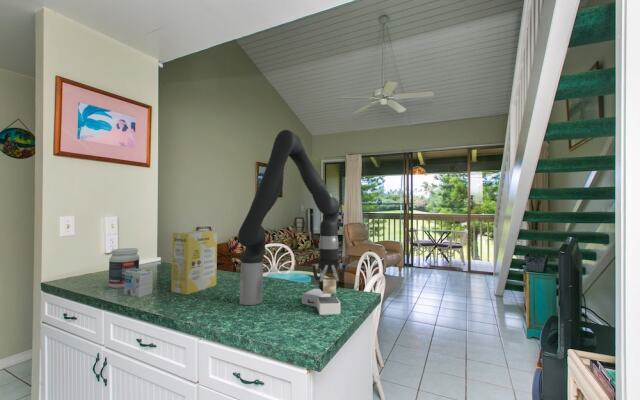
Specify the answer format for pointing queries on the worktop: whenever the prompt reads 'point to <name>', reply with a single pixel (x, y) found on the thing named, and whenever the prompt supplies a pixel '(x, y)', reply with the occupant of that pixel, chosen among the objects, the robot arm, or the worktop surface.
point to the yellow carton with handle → (193, 261)
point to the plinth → (328, 305)
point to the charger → (313, 297)
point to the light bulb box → (138, 282)
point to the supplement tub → (122, 265)
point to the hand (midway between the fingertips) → (328, 290)
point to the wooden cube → (329, 286)
